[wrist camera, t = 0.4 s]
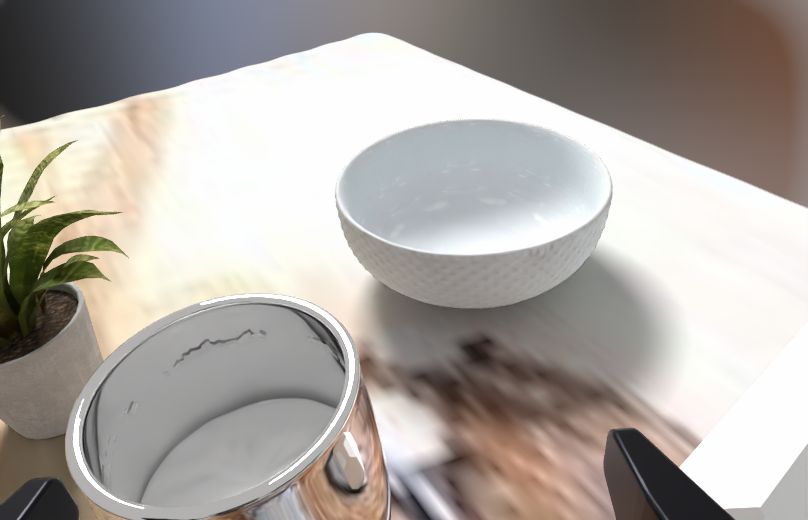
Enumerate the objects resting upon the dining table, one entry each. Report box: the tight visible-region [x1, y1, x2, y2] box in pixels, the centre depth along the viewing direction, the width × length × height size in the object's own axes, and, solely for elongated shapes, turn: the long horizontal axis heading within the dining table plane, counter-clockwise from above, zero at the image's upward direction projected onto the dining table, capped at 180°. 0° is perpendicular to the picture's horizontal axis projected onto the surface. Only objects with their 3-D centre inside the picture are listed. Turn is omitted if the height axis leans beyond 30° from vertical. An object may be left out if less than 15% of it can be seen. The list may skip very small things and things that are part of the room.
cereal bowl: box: [335, 119, 612, 309], centre depth 39 cm, size 17×17×7 cm
